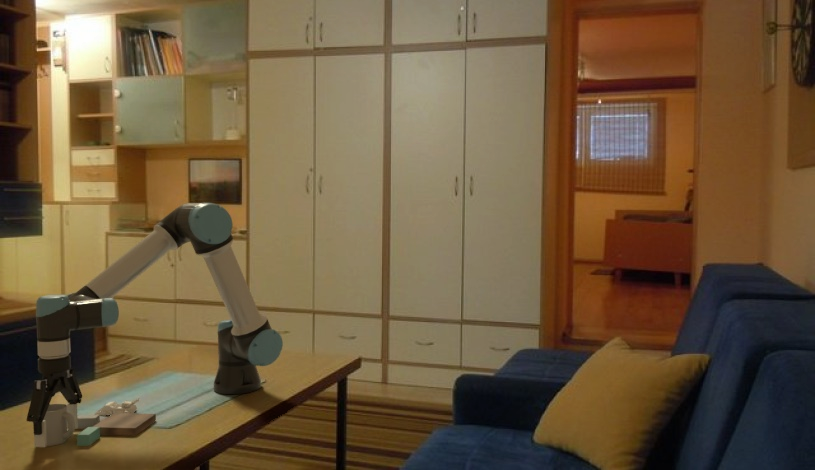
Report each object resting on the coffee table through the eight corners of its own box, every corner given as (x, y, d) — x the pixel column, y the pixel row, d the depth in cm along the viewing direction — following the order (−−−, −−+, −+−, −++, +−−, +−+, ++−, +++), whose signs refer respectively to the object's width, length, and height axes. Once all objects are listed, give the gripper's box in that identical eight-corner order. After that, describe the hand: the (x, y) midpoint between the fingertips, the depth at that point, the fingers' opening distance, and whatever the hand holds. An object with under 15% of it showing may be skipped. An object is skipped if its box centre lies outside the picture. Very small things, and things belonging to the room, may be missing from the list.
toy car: (102, 410, 205) (102, 396, 204) (142, 410, 204) (142, 396, 204) (92, 417, 199) (92, 402, 198) (133, 417, 198) (132, 402, 198)
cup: (48, 436, 181) (47, 403, 181) (83, 438, 180) (82, 404, 180) (29, 446, 174) (28, 411, 174) (66, 448, 173) (65, 413, 172)
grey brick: (99, 425, 191) (99, 414, 191) (95, 428, 188) (95, 418, 188) (77, 425, 190) (77, 415, 190) (72, 429, 187) (72, 418, 187)
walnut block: (155, 420, 194) (155, 413, 193) (135, 435, 182) (135, 428, 182) (115, 419, 195) (114, 412, 194) (92, 434, 183) (91, 427, 183)
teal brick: (88, 438, 181) (88, 426, 180) (100, 438, 181) (99, 426, 180) (77, 446, 175) (77, 434, 174) (89, 446, 175) (88, 434, 174)
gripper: (68, 345, 189) (70, 420, 190) (8, 367, 164) (11, 454, 165) (94, 345, 188) (96, 421, 189) (37, 367, 163) (40, 455, 164)
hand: (56, 437), depth 177 cm, fingers open, 13 cm apart
